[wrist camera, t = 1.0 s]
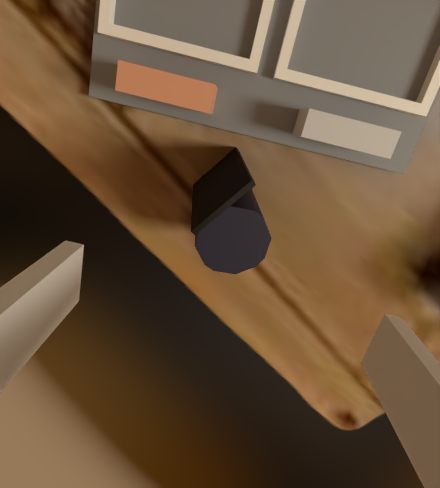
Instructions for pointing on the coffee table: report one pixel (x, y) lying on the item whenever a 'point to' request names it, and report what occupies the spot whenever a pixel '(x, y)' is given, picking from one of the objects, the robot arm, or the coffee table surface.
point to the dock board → (278, 69)
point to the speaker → (228, 218)
